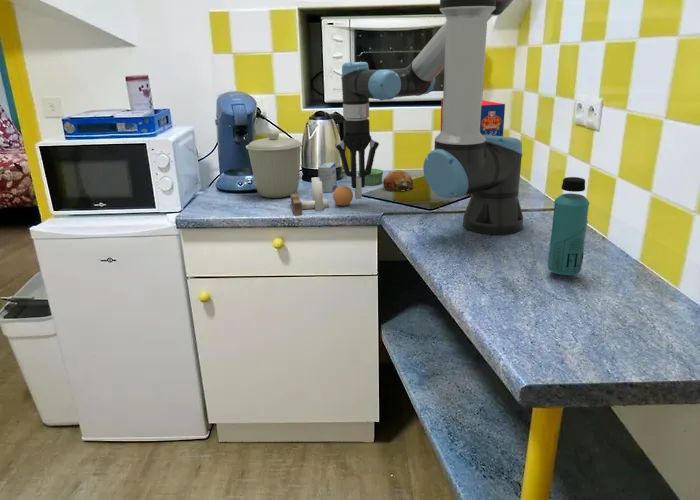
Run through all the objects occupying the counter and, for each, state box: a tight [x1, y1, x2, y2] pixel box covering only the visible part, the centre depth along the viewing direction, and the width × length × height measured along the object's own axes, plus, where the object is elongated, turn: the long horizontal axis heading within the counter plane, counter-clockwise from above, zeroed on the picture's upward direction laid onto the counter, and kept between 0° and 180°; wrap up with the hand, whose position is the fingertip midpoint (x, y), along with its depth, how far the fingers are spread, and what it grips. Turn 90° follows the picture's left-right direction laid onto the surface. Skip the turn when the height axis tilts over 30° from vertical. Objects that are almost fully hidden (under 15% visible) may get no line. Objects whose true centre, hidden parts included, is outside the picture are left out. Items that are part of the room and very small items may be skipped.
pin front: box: [301, 198, 330, 211], centre depth 159 cm, size 2×2×8 cm
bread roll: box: [382, 169, 414, 192], centre depth 178 cm, size 10×10×8 cm
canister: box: [245, 129, 303, 199], centre depth 172 cm, size 18×18×21 cm
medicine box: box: [317, 161, 338, 194], centre depth 178 cm, size 8×4×9 cm, turn 170°
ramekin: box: [357, 168, 384, 187], centre depth 187 cm, size 9×9×4 cm
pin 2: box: [314, 181, 324, 212], centre depth 156 cm, size 2×2×8 cm
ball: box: [332, 185, 354, 207], centre depth 160 cm, size 6×6×6 cm
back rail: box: [290, 192, 303, 216], centre depth 158 cm, size 12×2×4 cm, turn 11°
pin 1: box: [310, 176, 320, 201], centre depth 160 cm, size 2×2×8 cm
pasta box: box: [439, 97, 506, 196], centre depth 172 cm, size 28×8×28 cm, turn 14°
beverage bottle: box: [547, 176, 590, 276], centre depth 103 cm, size 6×7×20 cm
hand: (358, 198), depth 161 cm, fingers closed
